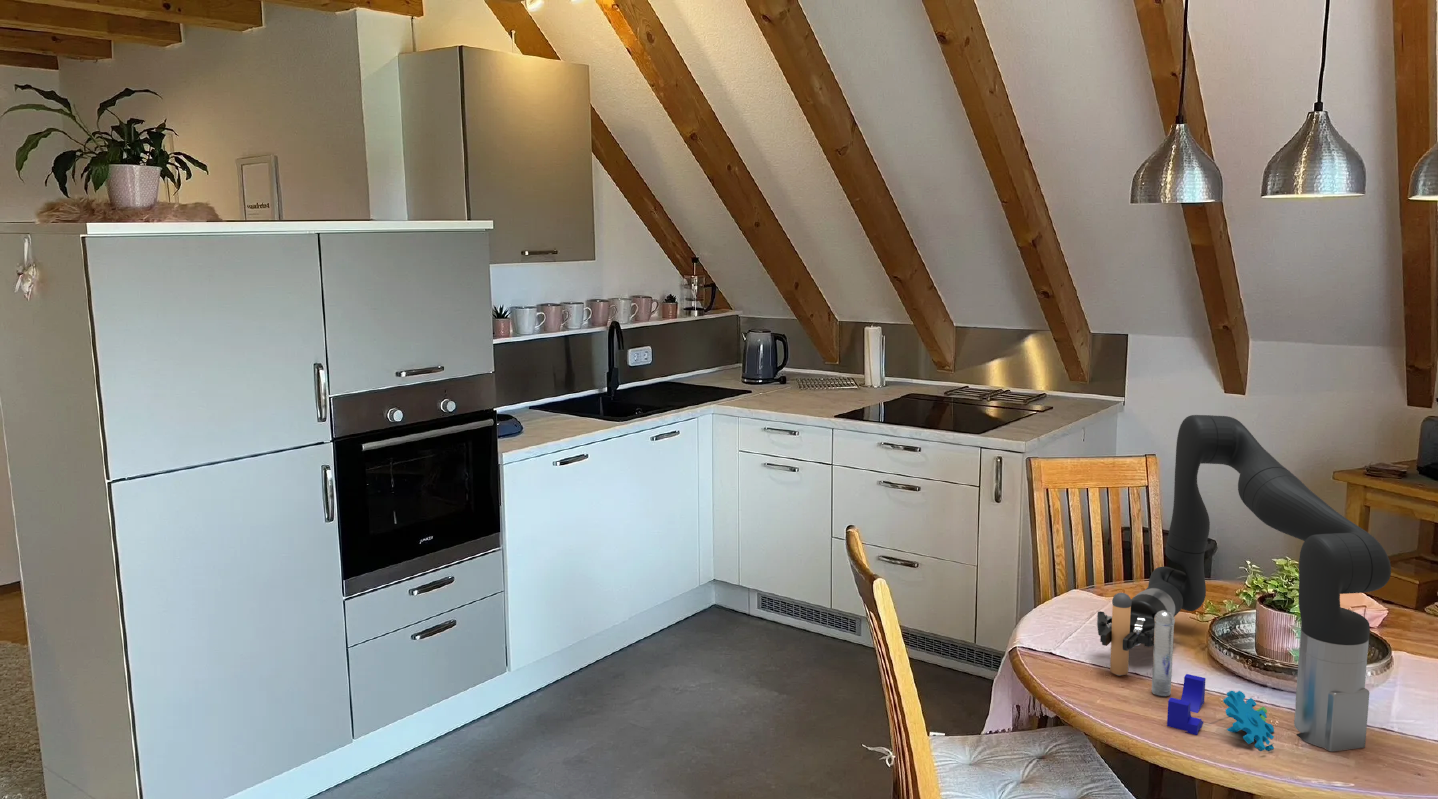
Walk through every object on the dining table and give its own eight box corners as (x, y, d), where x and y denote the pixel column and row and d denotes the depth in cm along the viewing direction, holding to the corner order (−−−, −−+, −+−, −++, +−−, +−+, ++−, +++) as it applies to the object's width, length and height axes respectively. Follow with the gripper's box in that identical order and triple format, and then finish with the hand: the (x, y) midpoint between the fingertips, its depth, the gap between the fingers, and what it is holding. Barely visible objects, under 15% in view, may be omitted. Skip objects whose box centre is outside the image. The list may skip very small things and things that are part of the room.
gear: (1262, 754, 161) (1220, 694, 165) (1231, 770, 164) (1191, 711, 169) (1292, 739, 168) (1251, 682, 172) (1261, 755, 171) (1222, 698, 176)
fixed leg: (1175, 696, 181) (1179, 612, 178) (1162, 701, 179) (1166, 615, 177) (1159, 689, 184) (1163, 606, 181) (1146, 694, 182) (1150, 609, 179)
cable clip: (1196, 743, 168) (1198, 708, 167) (1166, 735, 171) (1168, 701, 170) (1213, 713, 177) (1215, 680, 176) (1184, 707, 180) (1186, 673, 179)
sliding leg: (1132, 675, 189) (1135, 594, 186) (1119, 679, 187) (1123, 597, 185) (1118, 669, 191) (1121, 588, 189) (1105, 673, 190) (1108, 592, 187)
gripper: (1111, 586, 203) (1075, 613, 190) (1188, 602, 194) (1156, 631, 181) (1109, 623, 204) (1074, 653, 191) (1186, 640, 195) (1154, 673, 182)
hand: (1114, 642), depth 186 cm, fingers closed on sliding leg, 3 cm apart
